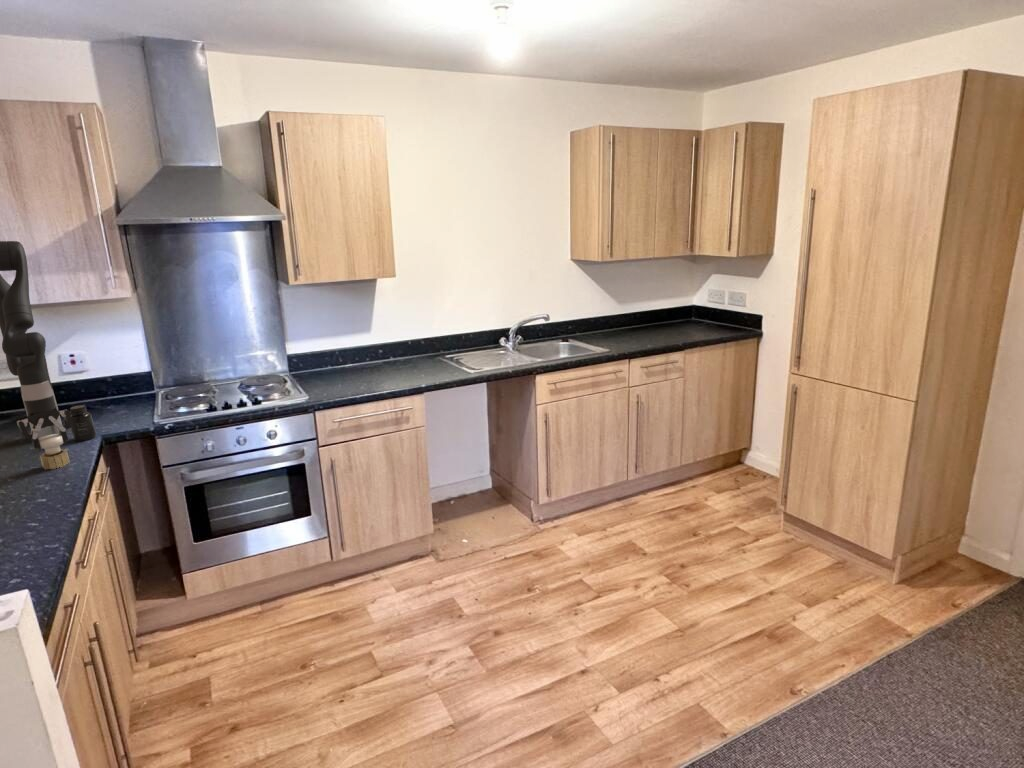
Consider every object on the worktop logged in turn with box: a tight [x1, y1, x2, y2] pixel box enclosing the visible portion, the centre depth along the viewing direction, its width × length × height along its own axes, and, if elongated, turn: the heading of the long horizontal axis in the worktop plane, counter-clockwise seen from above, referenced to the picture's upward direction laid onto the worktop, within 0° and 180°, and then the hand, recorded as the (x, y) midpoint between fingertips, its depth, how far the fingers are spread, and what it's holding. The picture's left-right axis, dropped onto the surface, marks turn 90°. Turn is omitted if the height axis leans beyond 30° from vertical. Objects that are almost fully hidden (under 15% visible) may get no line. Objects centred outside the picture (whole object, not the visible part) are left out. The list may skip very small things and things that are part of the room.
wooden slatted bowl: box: [39, 448, 71, 470], centre depth 199 cm, size 7×7×4 cm
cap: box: [39, 434, 65, 455], centre depth 198 cm, size 6×6×5 cm
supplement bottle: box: [69, 404, 97, 442], centre depth 222 cm, size 7×7×12 cm
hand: (51, 445), depth 198 cm, fingers closed on cap, 6 cm apart
